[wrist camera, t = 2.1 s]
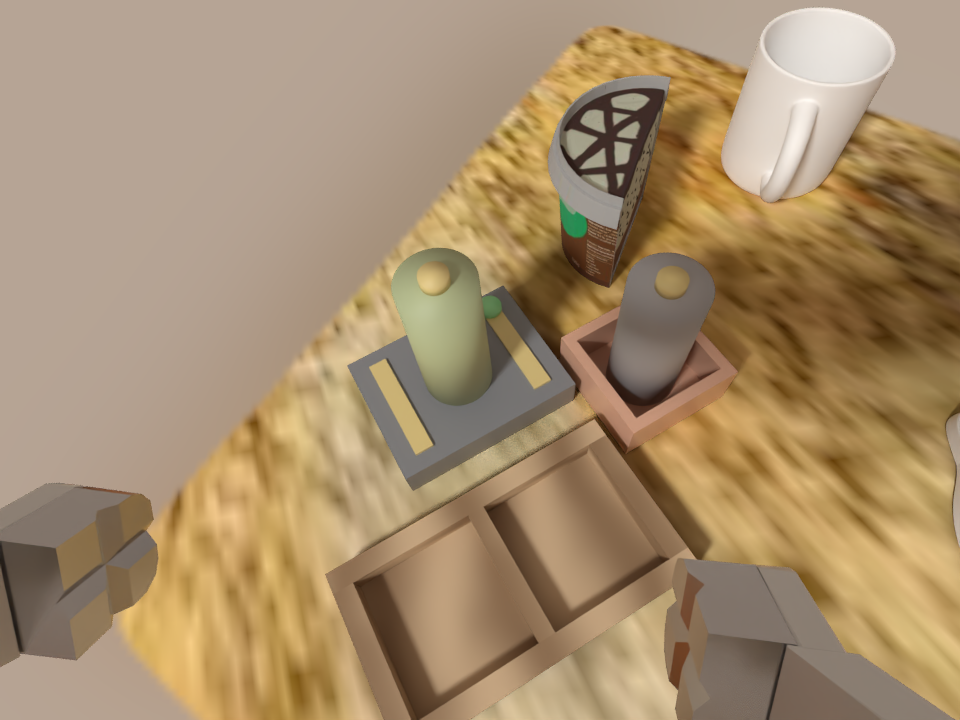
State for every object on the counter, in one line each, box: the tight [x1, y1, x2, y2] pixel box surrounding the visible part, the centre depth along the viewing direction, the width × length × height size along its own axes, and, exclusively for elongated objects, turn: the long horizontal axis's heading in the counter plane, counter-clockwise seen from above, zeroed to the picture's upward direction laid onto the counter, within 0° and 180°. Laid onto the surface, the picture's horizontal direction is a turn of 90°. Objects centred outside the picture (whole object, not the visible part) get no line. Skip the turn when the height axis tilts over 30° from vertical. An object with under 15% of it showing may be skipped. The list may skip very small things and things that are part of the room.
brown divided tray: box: [325, 419, 697, 720], centre depth 33 cm, size 18×10×2 cm, turn 119°
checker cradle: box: [348, 286, 576, 491], centre depth 39 cm, size 12×9×3 cm
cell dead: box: [606, 253, 715, 406], centre depth 34 cm, size 4×4×11 cm
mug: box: [721, 7, 896, 203], centre depth 42 cm, size 12×8×10 cm
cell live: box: [391, 248, 492, 406], centre depth 33 cm, size 4×4×11 cm
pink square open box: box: [559, 305, 738, 454], centre depth 38 cm, size 8×8×4 cm
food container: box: [548, 76, 671, 288], centre depth 41 cm, size 12×6×10 cm, turn 158°
